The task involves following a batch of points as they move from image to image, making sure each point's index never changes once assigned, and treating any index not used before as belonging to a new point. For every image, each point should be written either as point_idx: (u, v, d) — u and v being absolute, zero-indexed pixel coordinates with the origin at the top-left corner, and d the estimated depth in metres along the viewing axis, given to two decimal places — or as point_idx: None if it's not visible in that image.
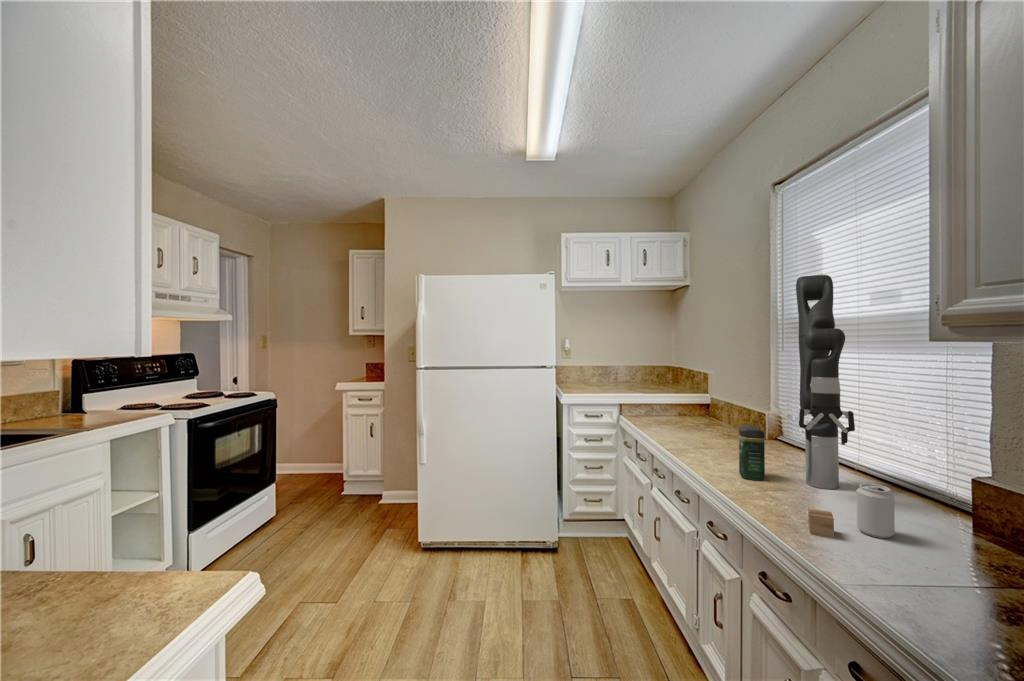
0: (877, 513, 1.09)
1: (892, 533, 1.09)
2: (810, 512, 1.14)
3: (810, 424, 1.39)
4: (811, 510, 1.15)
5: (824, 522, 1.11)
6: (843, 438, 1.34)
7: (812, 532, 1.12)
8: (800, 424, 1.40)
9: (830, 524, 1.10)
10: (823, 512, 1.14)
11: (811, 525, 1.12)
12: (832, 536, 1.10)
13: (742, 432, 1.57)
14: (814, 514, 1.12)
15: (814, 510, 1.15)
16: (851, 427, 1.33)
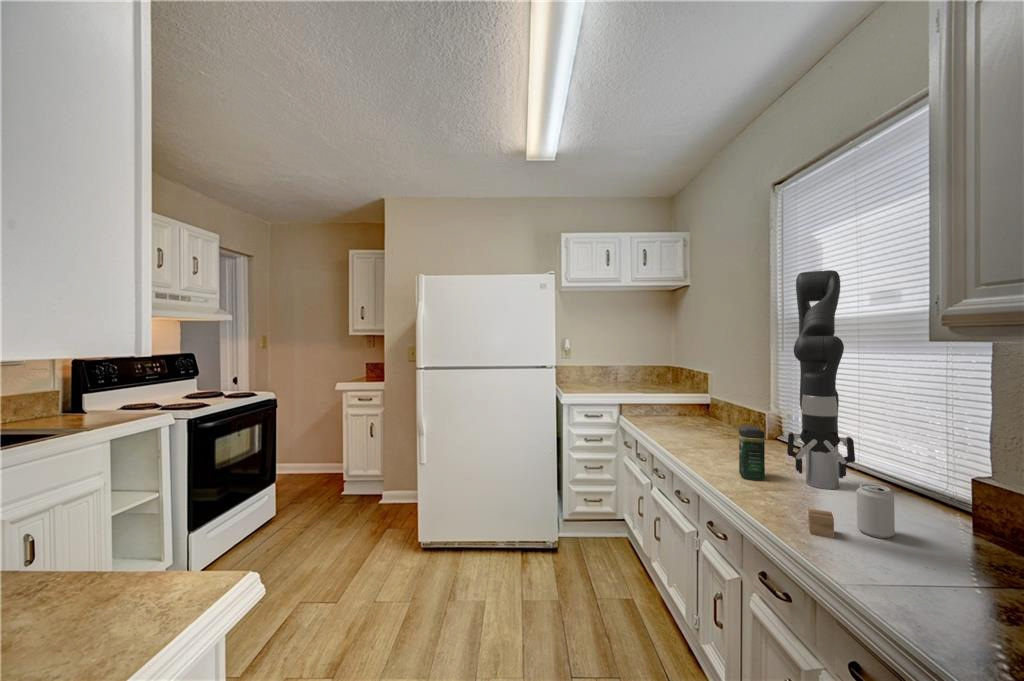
0: (877, 513, 1.09)
1: (892, 533, 1.09)
2: (810, 512, 1.14)
3: (801, 452, 1.14)
4: (811, 510, 1.15)
5: (824, 522, 1.11)
6: (841, 470, 1.10)
7: (812, 532, 1.12)
8: (789, 452, 1.15)
9: (830, 524, 1.10)
10: (823, 512, 1.14)
11: (811, 525, 1.12)
12: (832, 536, 1.10)
13: (742, 432, 1.57)
14: (814, 514, 1.12)
15: (814, 510, 1.15)
16: (850, 457, 1.09)
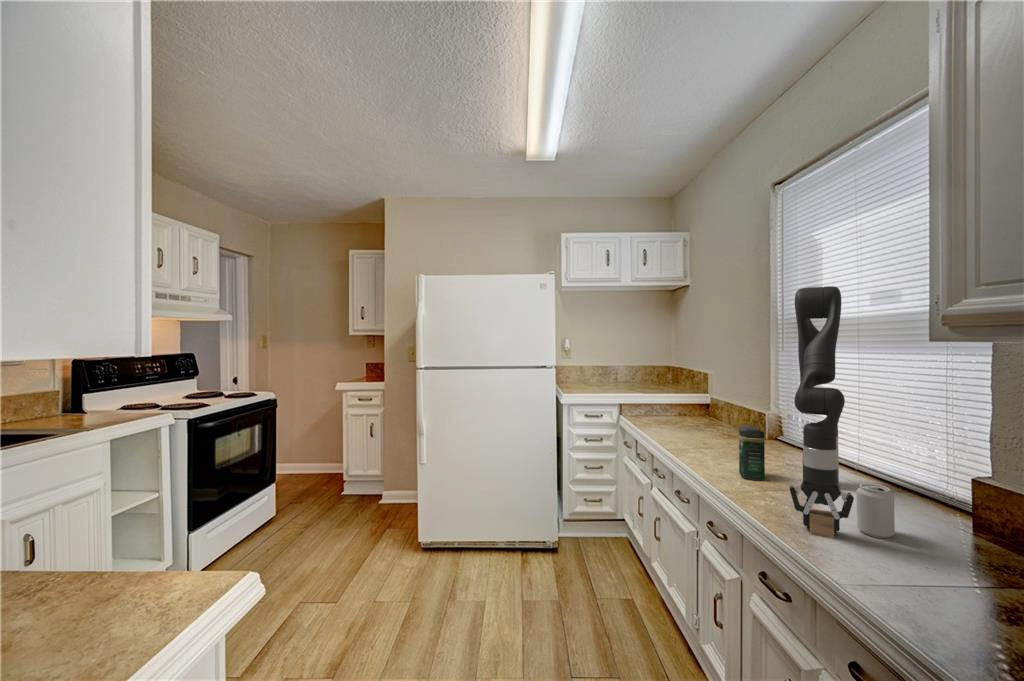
0: (877, 513, 1.09)
1: (892, 533, 1.09)
2: (810, 512, 1.14)
3: (807, 507, 1.13)
4: (811, 509, 1.15)
5: (824, 522, 1.11)
6: (834, 525, 1.11)
7: (812, 532, 1.12)
8: (796, 507, 1.15)
9: (830, 523, 1.10)
10: (823, 512, 1.14)
11: (811, 524, 1.12)
12: (832, 536, 1.10)
13: (742, 432, 1.57)
14: (814, 514, 1.12)
15: (814, 510, 1.15)
16: (844, 513, 1.10)
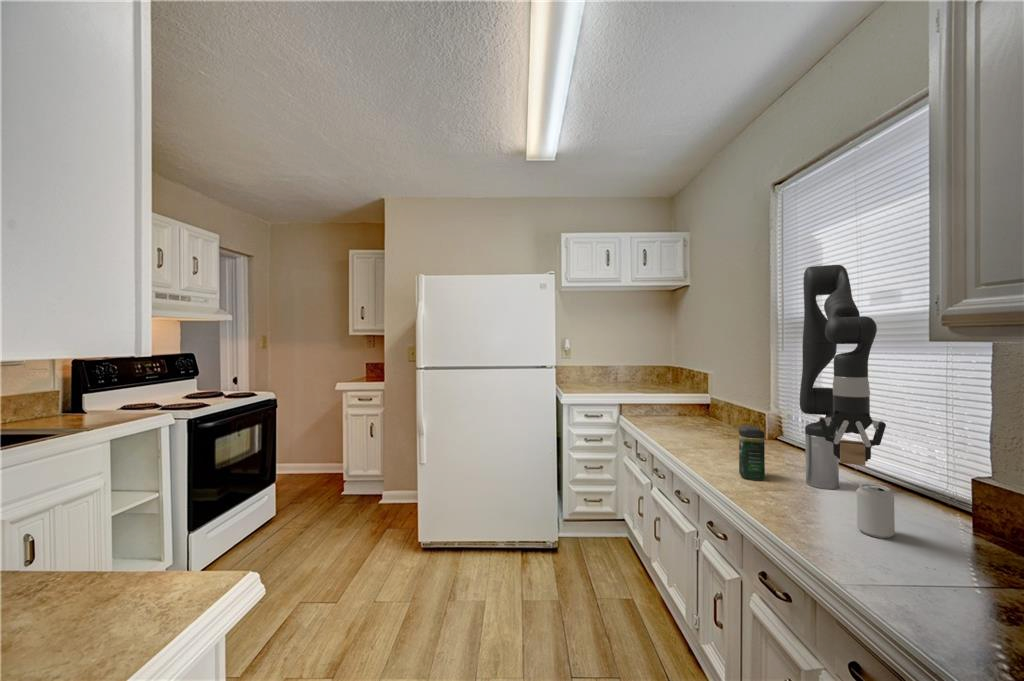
0: (877, 513, 1.09)
1: (892, 533, 1.09)
2: (840, 442, 1.13)
3: (837, 437, 1.13)
4: (841, 440, 1.15)
5: (855, 450, 1.10)
6: (865, 453, 1.10)
7: (843, 460, 1.12)
8: (826, 437, 1.15)
9: (861, 451, 1.10)
10: (854, 441, 1.13)
11: (842, 453, 1.12)
12: (863, 463, 1.10)
13: (742, 432, 1.57)
14: (844, 443, 1.12)
15: (844, 440, 1.15)
16: (876, 440, 1.09)
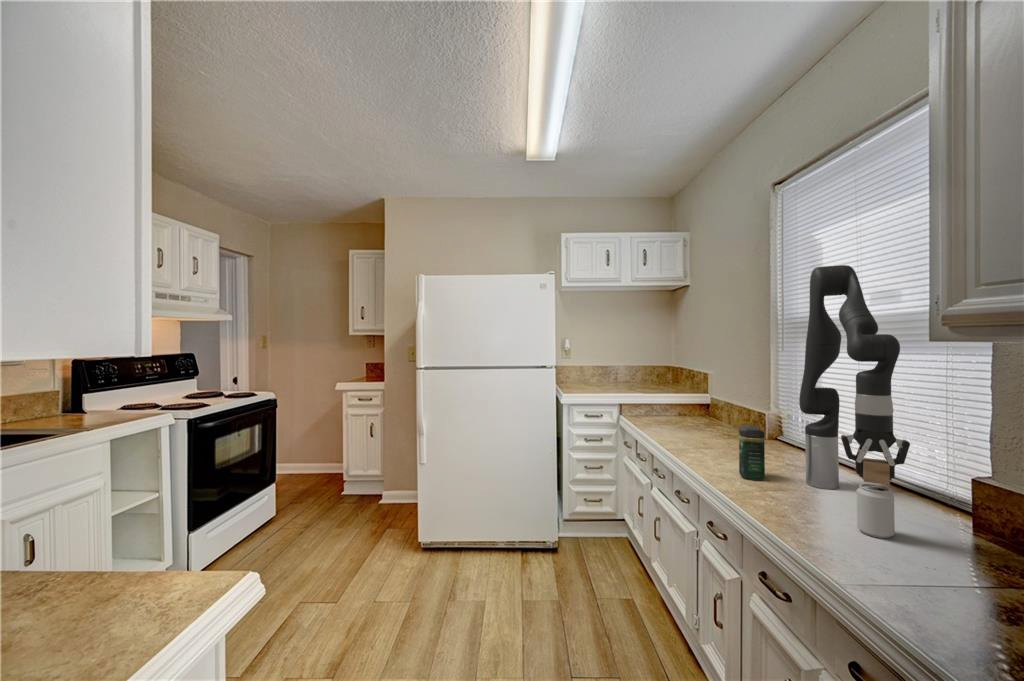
0: (877, 513, 1.09)
1: (892, 533, 1.09)
2: (864, 460, 1.13)
3: (860, 455, 1.13)
4: (864, 458, 1.14)
5: (879, 469, 1.10)
6: None
7: (866, 479, 1.11)
8: (849, 455, 1.14)
9: (886, 470, 1.09)
10: (877, 460, 1.13)
11: (866, 472, 1.11)
12: (888, 482, 1.09)
13: (742, 432, 1.57)
14: (868, 461, 1.11)
15: (867, 459, 1.14)
16: (899, 459, 1.09)
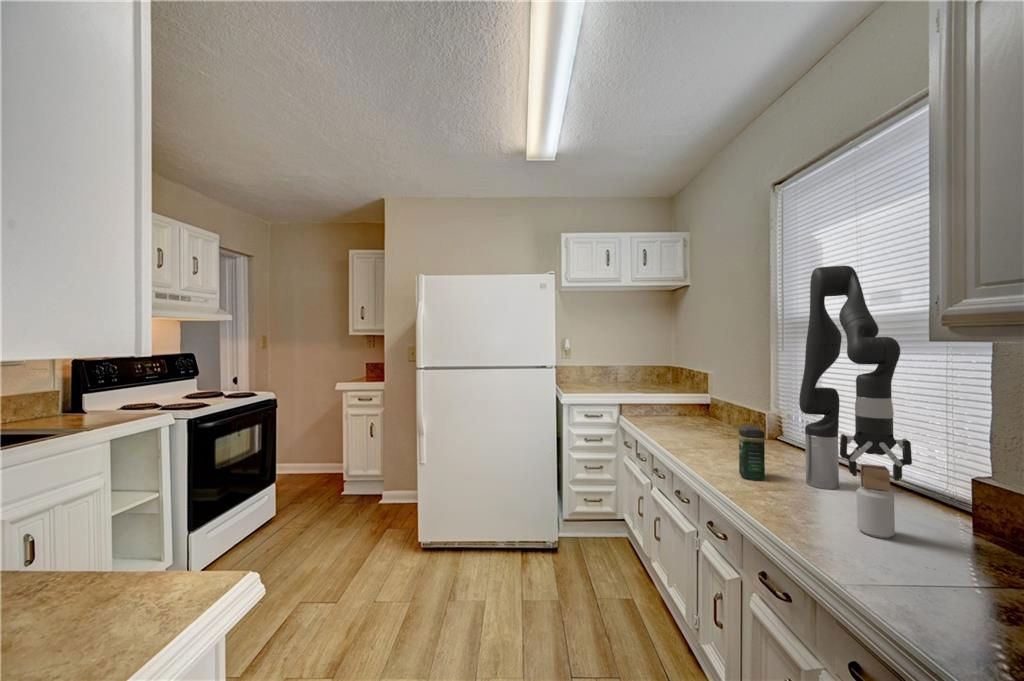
0: (877, 513, 1.09)
1: (892, 533, 1.09)
2: (864, 466, 1.13)
3: (855, 455, 1.13)
4: (864, 465, 1.14)
5: (879, 475, 1.10)
6: (896, 473, 1.09)
7: (866, 486, 1.11)
8: (842, 454, 1.14)
9: (886, 477, 1.09)
10: (877, 466, 1.13)
11: (866, 478, 1.11)
12: (888, 489, 1.09)
13: (742, 432, 1.57)
14: (868, 468, 1.11)
15: (867, 465, 1.14)
16: (907, 460, 1.08)
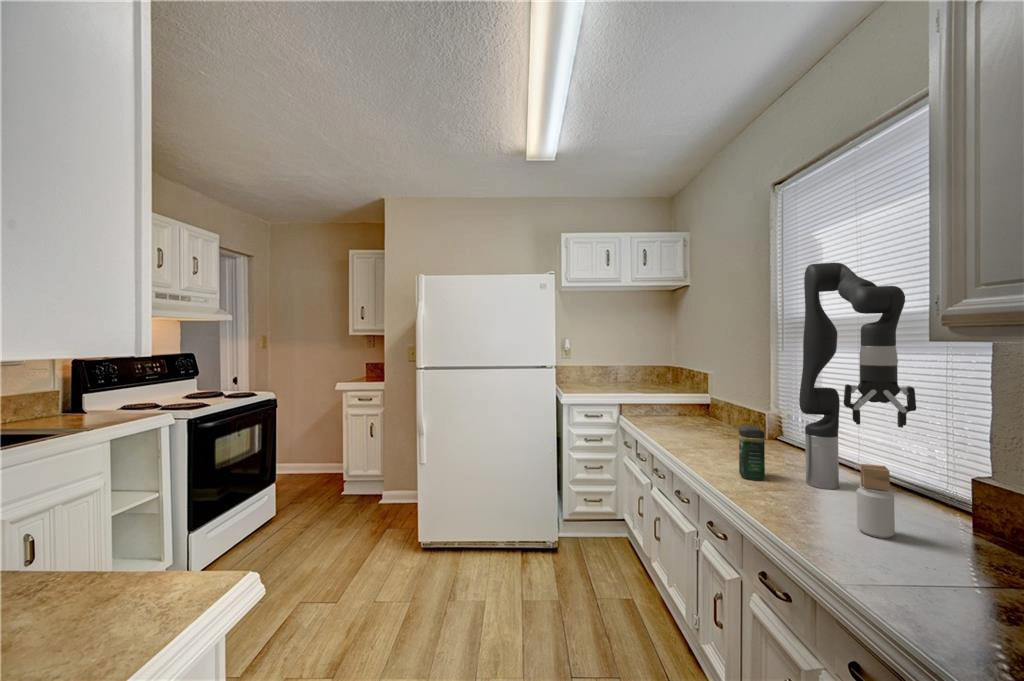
0: (877, 513, 1.09)
1: (892, 533, 1.09)
2: (864, 466, 1.13)
3: (859, 403, 1.14)
4: (864, 465, 1.14)
5: (879, 475, 1.10)
6: (901, 419, 1.10)
7: (866, 486, 1.11)
8: (846, 403, 1.16)
9: (886, 476, 1.09)
10: (877, 466, 1.13)
11: (865, 478, 1.11)
12: (888, 489, 1.09)
13: (742, 432, 1.57)
14: (868, 468, 1.11)
15: (867, 465, 1.14)
16: (911, 406, 1.09)
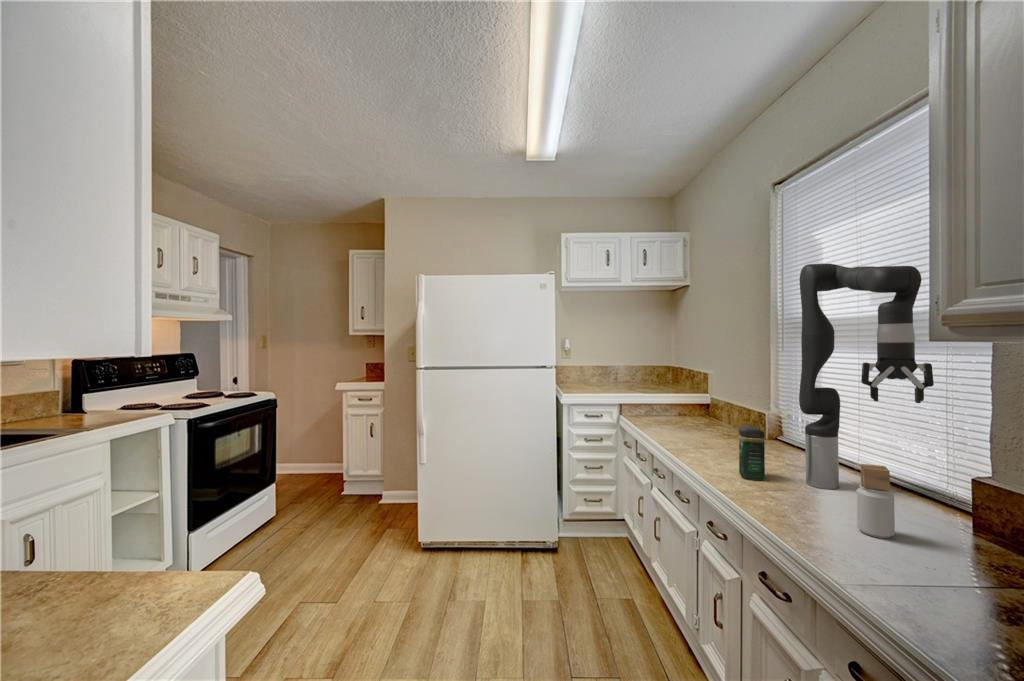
0: (877, 513, 1.09)
1: (892, 533, 1.09)
2: (864, 466, 1.13)
3: (877, 380, 1.17)
4: (864, 465, 1.14)
5: (879, 475, 1.10)
6: (918, 395, 1.13)
7: (866, 486, 1.11)
8: (864, 381, 1.18)
9: (886, 476, 1.09)
10: (877, 466, 1.13)
11: (866, 478, 1.11)
12: (888, 489, 1.09)
13: (742, 432, 1.57)
14: (868, 468, 1.11)
15: (867, 465, 1.14)
16: (929, 382, 1.12)
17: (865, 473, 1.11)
